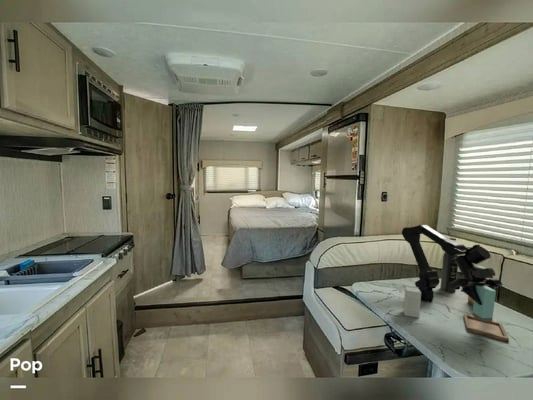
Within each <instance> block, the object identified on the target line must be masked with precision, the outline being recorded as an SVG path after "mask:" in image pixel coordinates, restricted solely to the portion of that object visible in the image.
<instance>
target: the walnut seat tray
mask: <svg viewBox="0 0 533 400" xmlns="http://www.w3.org/2000/svg"><path fill="white" fill-rule="evenodd" d="M463 321H464V325H465V330H466V332H469V333H472V334H476V335H480V336H484V337H487V338H491V339H495V340H498V341H503V342H505V343H509V341H510V337H509V335H508V333H507V332H506V329H505V327H504V325H503V323H502V322H498V321H495V320H492V321H491V322H481V321H480V320H478V319H477V318H475V317H474V316H472V315H471V314H466V313H463Z"/></svg>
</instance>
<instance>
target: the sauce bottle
mask: <svg viewBox="0 0 533 400" xmlns="http://www.w3.org/2000/svg"><path fill="white" fill-rule="evenodd" d="M475 268H478V269H480V270H485V268H486V267H485V266H482V265H475ZM485 281H487V279H486V280H483V282H485ZM467 302H468V304H469V305H471V306H473V304H474V300H473V299H472V298H471V297H470V296H468V295H467Z"/></svg>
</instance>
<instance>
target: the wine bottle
mask: <svg viewBox="0 0 533 400" xmlns="http://www.w3.org/2000/svg"><path fill="white" fill-rule="evenodd" d="M448 239H451V240H455V241H457V239H456V238H453V237H449V238H448ZM458 256H459V255H454V256H450V255H448V254H447V253H446V252H445V251H444V253H443V255H442V266H441V267H442V268H441V278H440V289H441V290H443V291H444V292H446V293H456V290H453V289H452V287H451V282H453V281H455V280H456V279H458V269H459V267H458V265H457V263H451V260H452V259H453V257H458Z"/></svg>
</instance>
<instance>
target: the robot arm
mask: <svg viewBox="0 0 533 400" xmlns="http://www.w3.org/2000/svg"><path fill="white" fill-rule="evenodd" d="M401 234H402V238H403V239H404V240H405V241H406V242H407V243H408V244H409V246H410V248H411V251H412V255H413V256H414V259H415V261H416V264H417V267H418V269H419V273H418V280H417V281H415V282H414V285H415V287H416V288H417V289H419V290H420V292H421V301H424V302H427V303H433V300H434V294H435V293H434V290H433V289H436V288H437V286H439V284H440V283H441V278H440V276H439V275H438V274H439V273H438V272H437V270H433V269H432V268H431V267H430V263H429V262H428V260H427V256H426V255H425V252H424V249H423V247H422V245H421V234H423V235H424V236H426V237H427V238H428V239H430V240H431V241H433V242H434V243H436V244H437V245H439V246H440V248H441V250H442V251H443V252H444V253H445V252H446V253H447V254H448V255H450V256H454V255H458V257H453V259H452V260H451V263H457V265H458V269H459V271H460V272H459V275H460V276H462V277H463V278H457V279H456V280H455V281H453V282H451V287H452V289H453V290H457V291H459V290H460V289H461V290H460V292H463V293H464V294H465V295H467V297H468V296H470V297H471V298H472V299H473V300H474V301H475V302H477V303H478V304H479V305H482V302H481V300H480V298H479V296H478V294H477V292H476V286H487V287H489V288H491V289H493V290H495V289H497V288H500V287H502V286H503V283H502V281H501V280H500V279H498V278H494V277H495V276H496V271H495V270H494V269H493V267H492V268H491V267H485V270H480V269H478V268H475V267H476V265H479V264H480V263H483V262H485V261H487V260H488V259H489V260H490V258H491V253H490V252H489V251H488V250H487V249H486V248H484V247H482V246H481V245H480V244H474V245H473V246H472V247H470V248H469V247H467V246H465V244H463V243H462V242H459V241H457V240H456V241H455V240H451V239H449V238H448V237H446V236H444V235H443V234H441V233H440V232H439V231H436V230H435V229H433V228H432V227H431V226H429V225H428V224H418V225H414V226H406V227H403V228H402V230H401ZM474 264H475V265H474ZM483 280H486V281H485V282H483Z"/></svg>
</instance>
